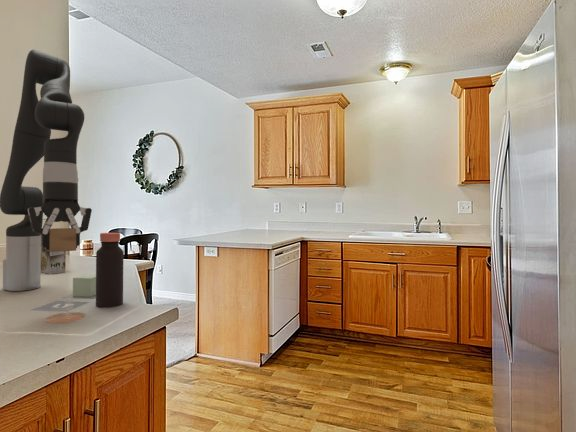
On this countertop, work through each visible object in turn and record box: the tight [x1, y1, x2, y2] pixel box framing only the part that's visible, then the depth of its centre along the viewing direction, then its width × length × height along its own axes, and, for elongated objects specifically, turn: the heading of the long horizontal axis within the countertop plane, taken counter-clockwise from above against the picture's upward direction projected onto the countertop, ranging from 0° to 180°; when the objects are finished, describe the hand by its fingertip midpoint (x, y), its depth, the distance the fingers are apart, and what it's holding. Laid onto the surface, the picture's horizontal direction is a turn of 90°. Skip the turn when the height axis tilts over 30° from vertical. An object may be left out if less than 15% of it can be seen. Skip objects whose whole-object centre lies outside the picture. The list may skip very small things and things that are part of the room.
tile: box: [31, 300, 90, 313], centre depth 99 cm, size 10×10×1 cm
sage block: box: [72, 274, 96, 297], centre depth 112 cm, size 6×6×6 cm
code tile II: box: [61, 293, 96, 300], centre depth 112 cm, size 10×10×1 cm
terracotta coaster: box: [45, 311, 85, 324], centre depth 89 cm, size 8×8×1 cm
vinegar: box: [95, 232, 125, 309], centre depth 102 cm, size 7×7×20 cm
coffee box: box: [41, 245, 67, 275], centre depth 152 cm, size 9×6×16 cm
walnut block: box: [46, 227, 77, 252], centre depth 93 cm, size 6×6×6 cm
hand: (61, 248), depth 93 cm, fingers closed on walnut block, 5 cm apart
